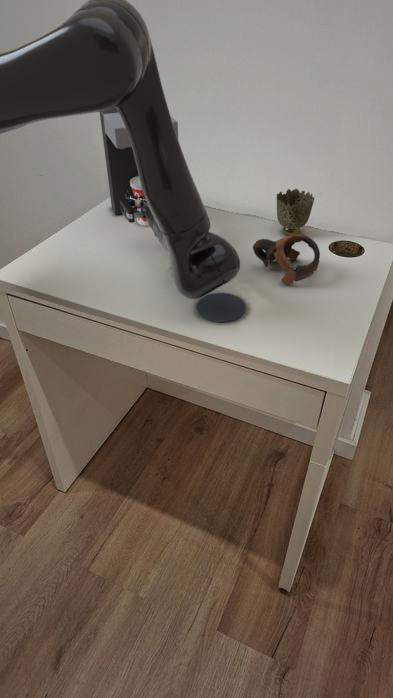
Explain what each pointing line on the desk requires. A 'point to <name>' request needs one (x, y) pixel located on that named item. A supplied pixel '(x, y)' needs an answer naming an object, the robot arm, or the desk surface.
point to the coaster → (221, 307)
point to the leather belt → (287, 256)
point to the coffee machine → (119, 156)
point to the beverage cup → (138, 193)
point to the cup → (293, 210)
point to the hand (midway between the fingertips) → (149, 191)
